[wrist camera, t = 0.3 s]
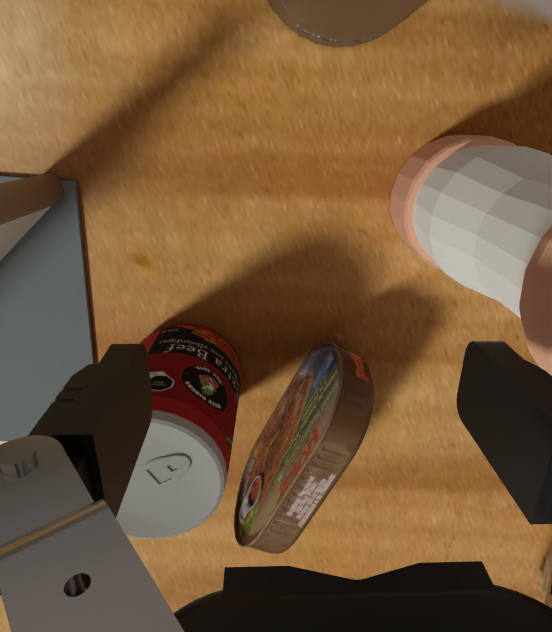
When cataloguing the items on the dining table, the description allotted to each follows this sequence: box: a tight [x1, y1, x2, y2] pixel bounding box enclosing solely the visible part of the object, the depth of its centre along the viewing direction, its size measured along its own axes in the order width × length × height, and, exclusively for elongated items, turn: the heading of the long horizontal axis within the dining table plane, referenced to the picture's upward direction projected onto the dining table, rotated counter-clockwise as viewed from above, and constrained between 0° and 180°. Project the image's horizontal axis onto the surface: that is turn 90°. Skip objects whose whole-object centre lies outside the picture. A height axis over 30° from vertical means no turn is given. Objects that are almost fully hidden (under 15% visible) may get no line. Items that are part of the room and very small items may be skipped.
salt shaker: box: [390, 135, 552, 376], centre depth 19 cm, size 7×7×19 cm
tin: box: [234, 342, 374, 554], centre depth 30 cm, size 15×3×8 cm, turn 154°
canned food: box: [116, 324, 242, 539], centre depth 27 cm, size 8×8×11 cm
